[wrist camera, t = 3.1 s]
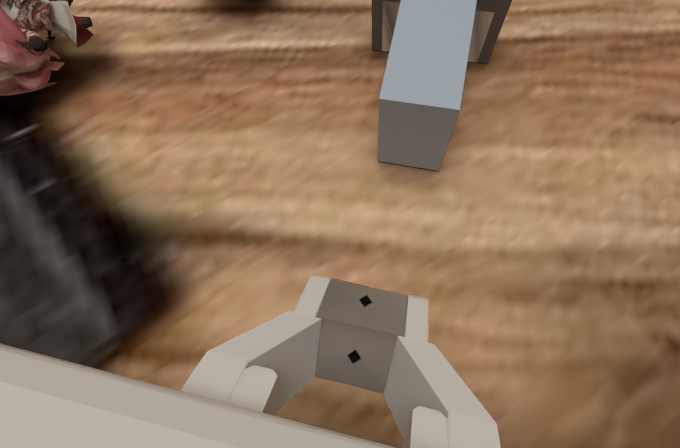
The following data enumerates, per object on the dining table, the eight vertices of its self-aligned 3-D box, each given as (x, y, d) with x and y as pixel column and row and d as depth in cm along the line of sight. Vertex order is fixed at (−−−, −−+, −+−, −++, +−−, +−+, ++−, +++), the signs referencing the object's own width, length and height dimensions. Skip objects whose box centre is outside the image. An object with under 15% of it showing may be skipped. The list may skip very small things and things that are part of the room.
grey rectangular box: (438, 170, 30) (459, 110, 22) (377, 160, 30) (379, 98, 23) (460, 38, 33) (485, -53, 26) (405, 32, 34) (414, -59, 26)
